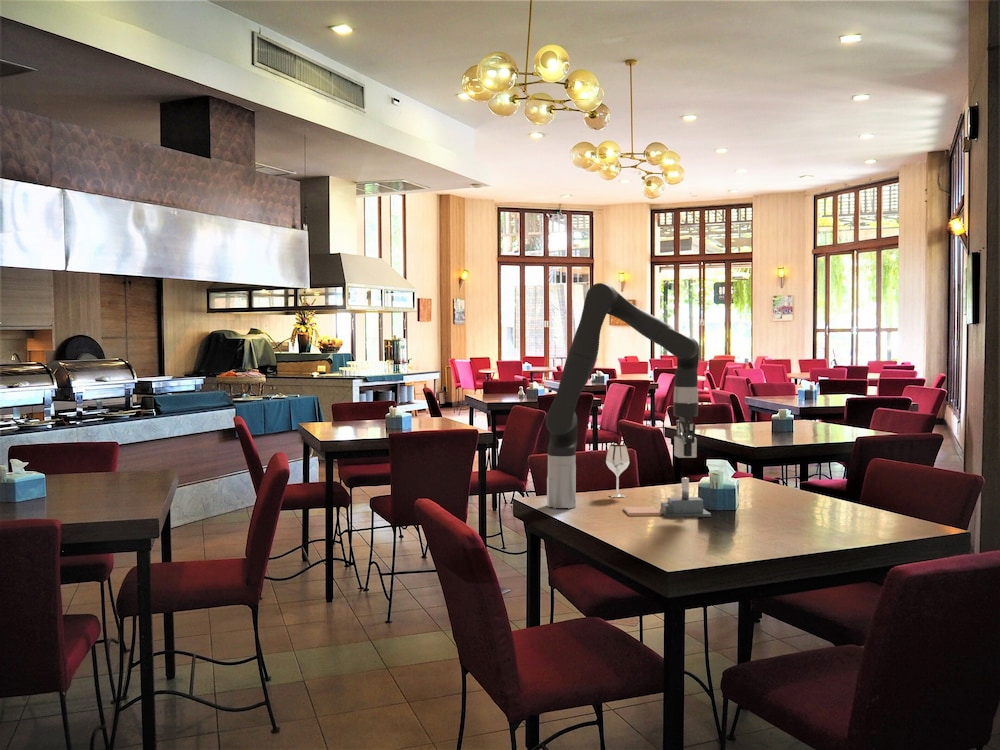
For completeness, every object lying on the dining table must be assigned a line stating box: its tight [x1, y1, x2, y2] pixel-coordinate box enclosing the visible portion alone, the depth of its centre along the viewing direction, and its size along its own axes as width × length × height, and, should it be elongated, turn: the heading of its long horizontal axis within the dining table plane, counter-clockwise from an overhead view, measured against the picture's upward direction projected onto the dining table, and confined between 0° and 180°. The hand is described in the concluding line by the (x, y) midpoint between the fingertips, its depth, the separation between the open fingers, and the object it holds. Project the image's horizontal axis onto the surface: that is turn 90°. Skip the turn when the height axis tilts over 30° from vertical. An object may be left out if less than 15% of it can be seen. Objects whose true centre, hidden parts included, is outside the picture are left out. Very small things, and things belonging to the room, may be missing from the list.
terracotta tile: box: [622, 506, 662, 517], centre depth 270 cm, size 10×10×1 cm
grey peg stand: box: [659, 477, 712, 518], centre depth 267 cm, size 14×8×12 cm, turn 93°
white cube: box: [673, 435, 698, 459], centre depth 266 cm, size 6×6×6 cm
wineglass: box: [605, 444, 630, 498], centre depth 300 cm, size 8×8×18 cm
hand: (685, 454), depth 266 cm, fingers closed on white cube, 5 cm apart
